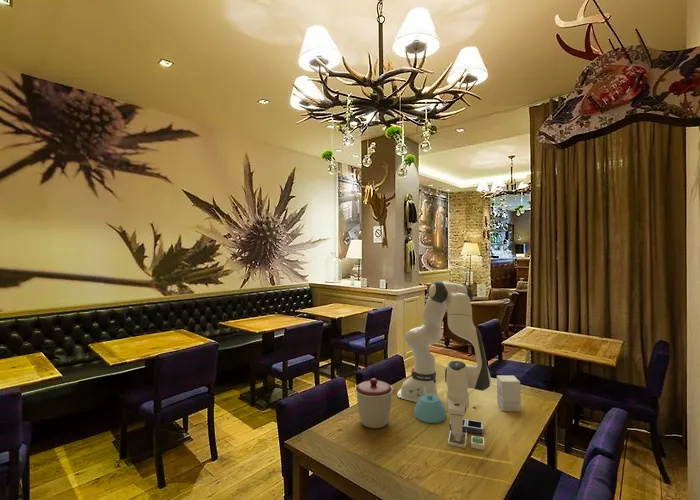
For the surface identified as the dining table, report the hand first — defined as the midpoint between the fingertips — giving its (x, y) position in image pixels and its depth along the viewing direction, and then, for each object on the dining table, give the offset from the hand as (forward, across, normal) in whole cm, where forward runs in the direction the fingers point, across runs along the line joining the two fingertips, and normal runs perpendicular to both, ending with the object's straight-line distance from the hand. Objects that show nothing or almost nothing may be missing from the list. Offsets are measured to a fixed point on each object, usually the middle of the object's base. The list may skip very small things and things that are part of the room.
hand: (458, 434), depth 148 cm
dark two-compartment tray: (+4, -11, +3) cm, 12 cm away
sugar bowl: (+4, -18, -14) cm, 23 cm away
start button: (+3, +1, +8) cm, 8 cm away
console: (+4, +1, +8) cm, 8 cm away
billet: (+3, 0, 0) cm, 3 cm away
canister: (+4, -5, -38) cm, 39 cm away
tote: (+4, 0, 0) cm, 4 cm away
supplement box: (+4, -42, +22) cm, 47 cm away
